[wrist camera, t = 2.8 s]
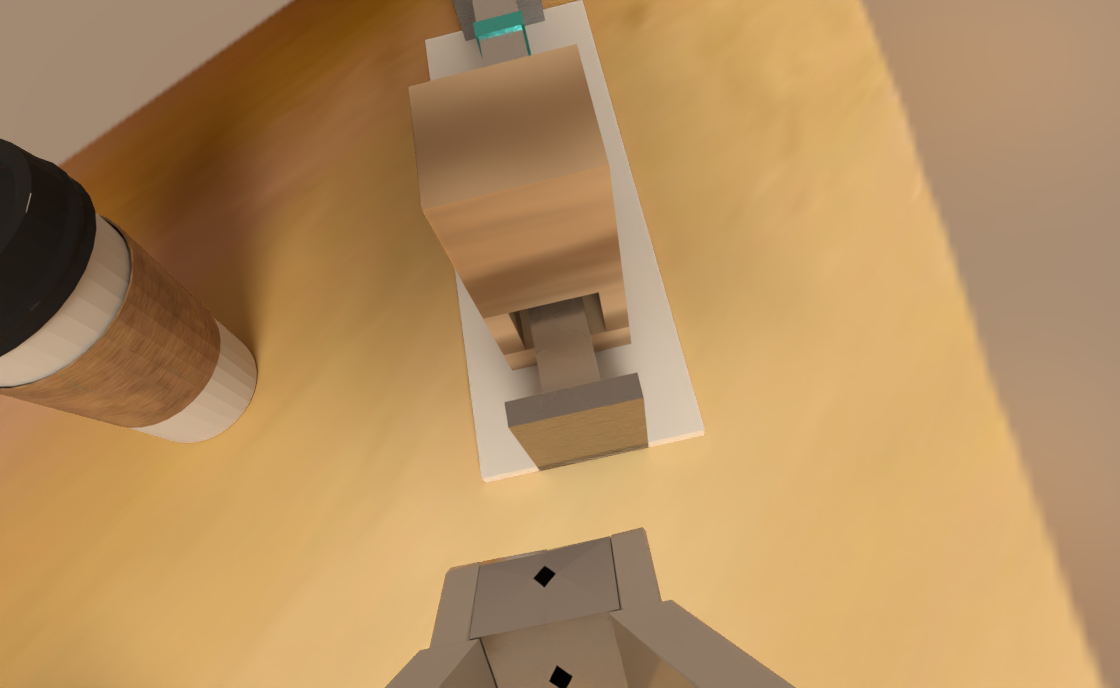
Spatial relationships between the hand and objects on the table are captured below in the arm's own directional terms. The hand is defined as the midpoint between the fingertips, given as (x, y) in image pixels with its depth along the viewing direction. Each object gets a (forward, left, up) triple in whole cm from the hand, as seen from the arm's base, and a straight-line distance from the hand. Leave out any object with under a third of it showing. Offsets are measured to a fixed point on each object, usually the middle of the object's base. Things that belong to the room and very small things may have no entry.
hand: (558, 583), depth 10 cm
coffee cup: (-19, +15, -19) cm, 31 cm away
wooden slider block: (0, +14, -18) cm, 22 cm away
